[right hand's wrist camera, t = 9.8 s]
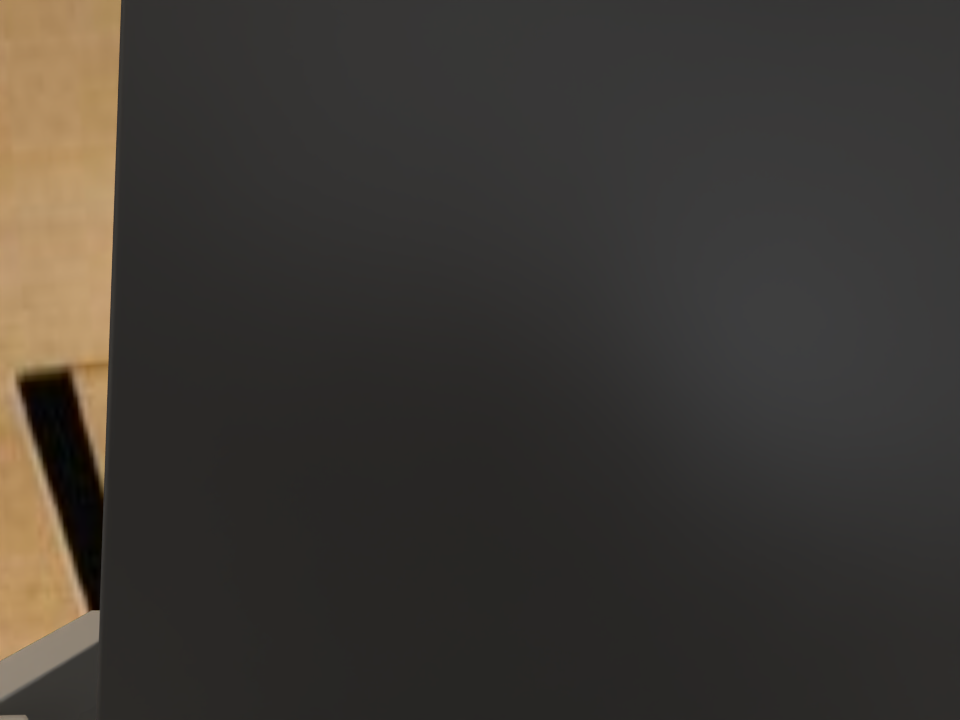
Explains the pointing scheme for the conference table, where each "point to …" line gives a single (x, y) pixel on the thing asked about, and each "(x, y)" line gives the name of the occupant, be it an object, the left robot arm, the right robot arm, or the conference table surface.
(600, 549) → the box
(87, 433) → the conference table surface
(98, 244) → the conference table surface
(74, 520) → the conference table surface
